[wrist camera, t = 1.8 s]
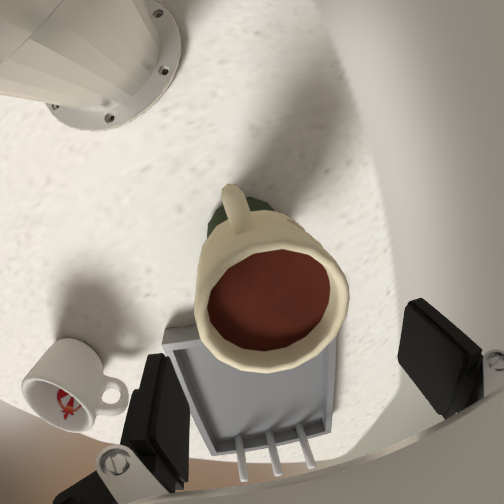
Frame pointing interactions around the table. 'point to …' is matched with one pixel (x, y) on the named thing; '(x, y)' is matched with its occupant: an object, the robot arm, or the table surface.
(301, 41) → the table surface
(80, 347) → the cup
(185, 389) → the dish rack
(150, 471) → the robot arm
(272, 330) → the character mug
